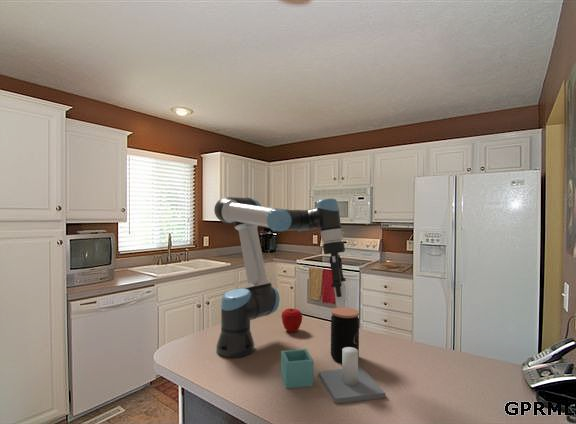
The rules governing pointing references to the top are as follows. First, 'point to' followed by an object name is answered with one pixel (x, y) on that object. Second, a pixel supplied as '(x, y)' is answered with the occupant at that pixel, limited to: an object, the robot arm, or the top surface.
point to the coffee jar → (344, 331)
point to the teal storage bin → (297, 368)
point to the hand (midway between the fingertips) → (342, 303)
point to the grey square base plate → (350, 380)
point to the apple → (291, 319)
